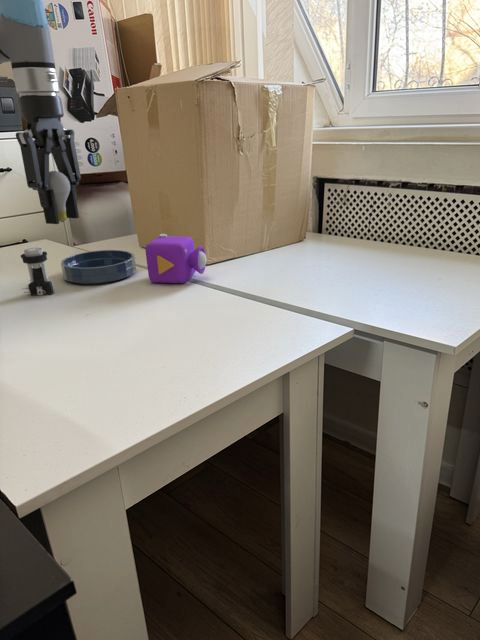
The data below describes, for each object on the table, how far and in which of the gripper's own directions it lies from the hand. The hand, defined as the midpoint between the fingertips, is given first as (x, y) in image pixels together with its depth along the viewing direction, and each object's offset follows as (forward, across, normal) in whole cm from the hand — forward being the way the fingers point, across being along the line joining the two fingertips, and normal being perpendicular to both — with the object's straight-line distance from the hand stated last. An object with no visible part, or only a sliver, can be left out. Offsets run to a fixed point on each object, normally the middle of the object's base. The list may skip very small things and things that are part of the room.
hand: (63, 220), depth 105 cm
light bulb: (+1, 0, 0) cm, 1 cm away
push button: (+17, -1, +10) cm, 19 cm away
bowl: (+17, +15, +5) cm, 23 cm away
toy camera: (+17, +17, -16) cm, 29 cm away
